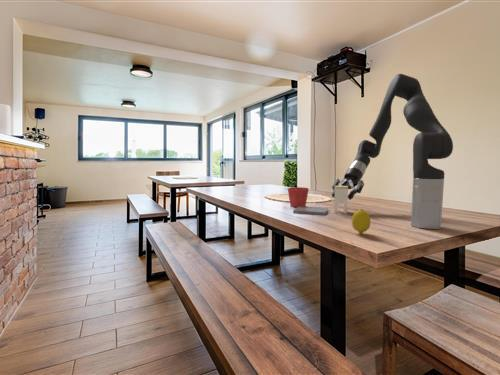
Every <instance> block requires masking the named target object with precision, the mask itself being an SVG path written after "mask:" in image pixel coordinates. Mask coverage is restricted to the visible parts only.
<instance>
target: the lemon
mask: <svg viewBox="0 0 500 375" xmlns="http://www.w3.org/2000/svg"><path fill="white" fill-rule="evenodd" d="M371 223H372V222H371V217H370V215H369V213H368V212H367V211H365V210H364V209H363V208H360V209H359V210H357V211H355V212H354V213H353V214H352V217H351V226H352V228H353V229H354V230H355V231H356V232H358V233H359V235H361V234H363V233H364V232H367V231H368V230H369V229H370V227H371Z"/></svg>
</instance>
